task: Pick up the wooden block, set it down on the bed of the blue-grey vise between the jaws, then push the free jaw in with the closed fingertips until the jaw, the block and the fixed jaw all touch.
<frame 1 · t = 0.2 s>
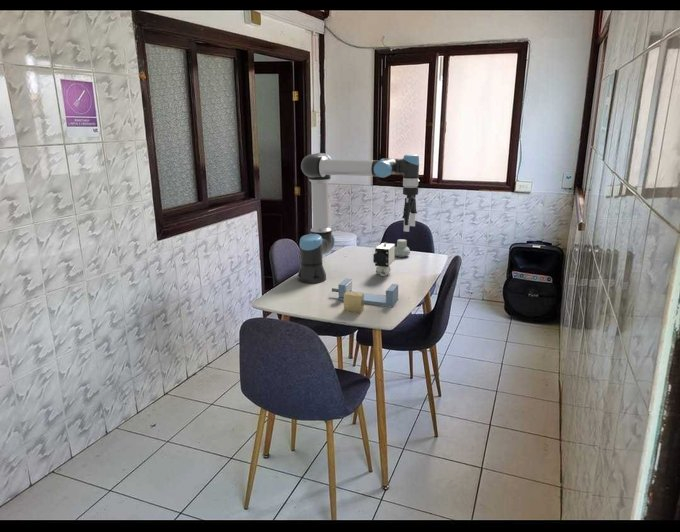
hand: (409, 228, 248), 28 cm above the table, tool pointing down, fingers open, 13 cm apart
vise: (368, 299, 229), on the table
free jaw: (340, 287, 232), point 5 cm above the table, slide at 0.0 cm
air freshener: (401, 256, 304), on the table
ball valve: (383, 274, 267), on the table
wooden block: (353, 310, 216), on the table
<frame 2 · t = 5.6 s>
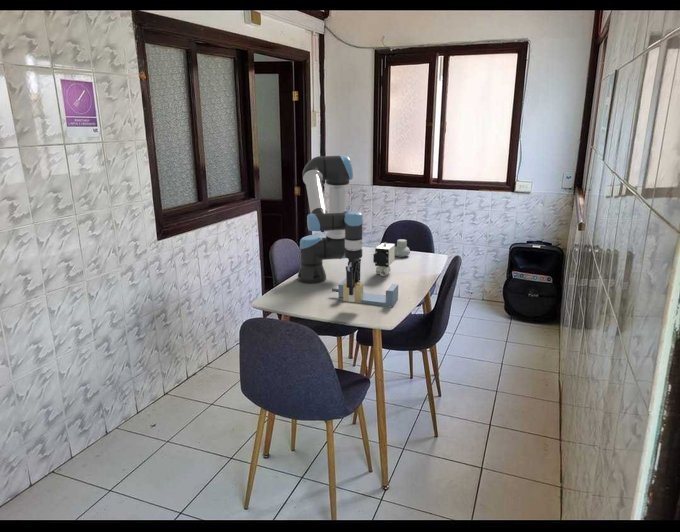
hand: (353, 299, 215), 5 cm above the table, tool pointing down, fingers closed on wooden block, 4 cm apart
wooden block: (353, 300, 215), point 5 cm above the table, touching gripper
everything else where it was.
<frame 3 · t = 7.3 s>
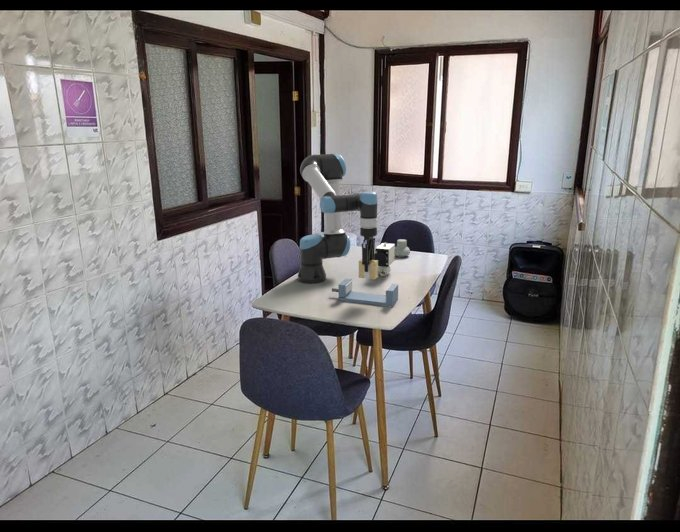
hand: (368, 276, 225), 12 cm above the table, tool pointing down, fingers closed on wooden block, 4 cm apart
wooden block: (368, 277, 226), point 11 cm above the table, touching gripper
everything else where it was.
when the fingers open (3 cm above the table, at t = 9.0 s): wooden block stays where it is, resting on vise.
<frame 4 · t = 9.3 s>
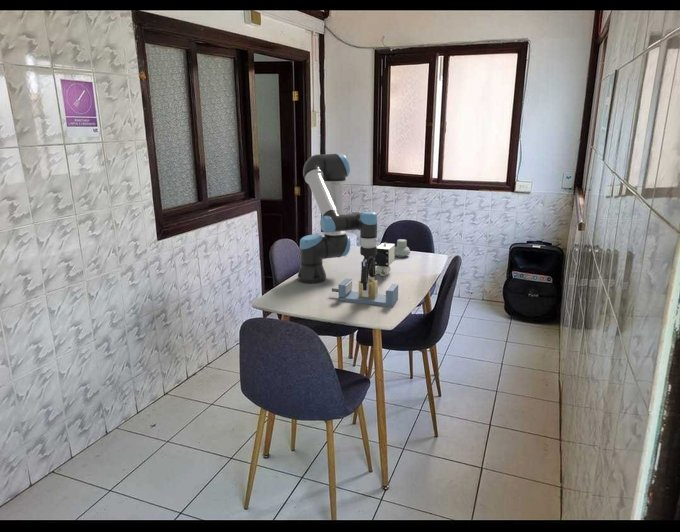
hand: (368, 293, 228), 3 cm above the table, tool pointing down, fingers open, 8 cm apart
wooden block: (368, 296, 228), point 1 cm above the table, touching vise
everything else where it was.
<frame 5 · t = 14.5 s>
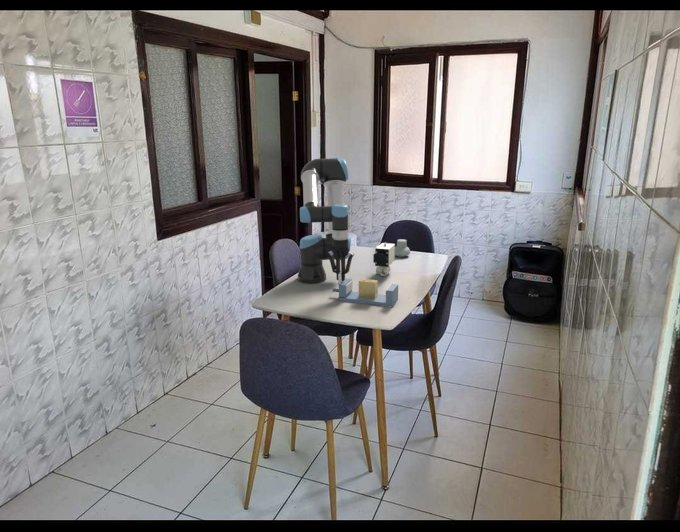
hand: (340, 286, 232), 5 cm above the table, tool pointing down, fingers closed
free jaw: (341, 287, 232), point 5 cm above the table, slide at 0.2 cm, touching gripper
everything else where it was.
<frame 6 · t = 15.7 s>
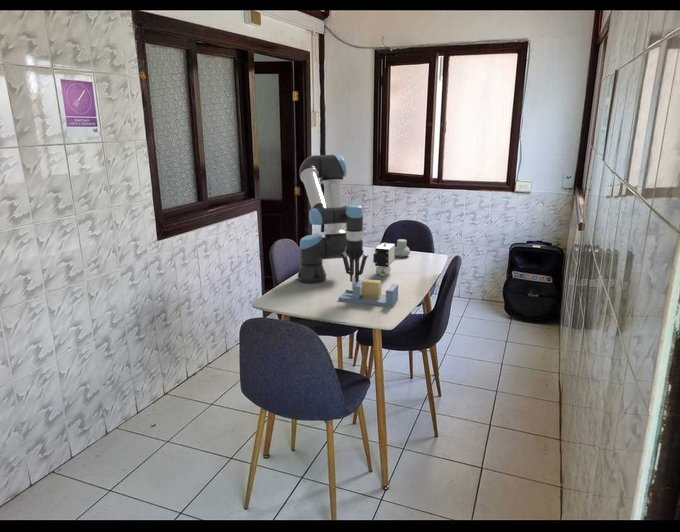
hand: (354, 288, 229), 5 cm above the table, tool pointing down, fingers closed
free jaw: (354, 288, 230), point 5 cm above the table, slide at 7.0 cm, touching gripper
wooden block: (371, 297, 228), point 2 cm above the table
everything else where it was.
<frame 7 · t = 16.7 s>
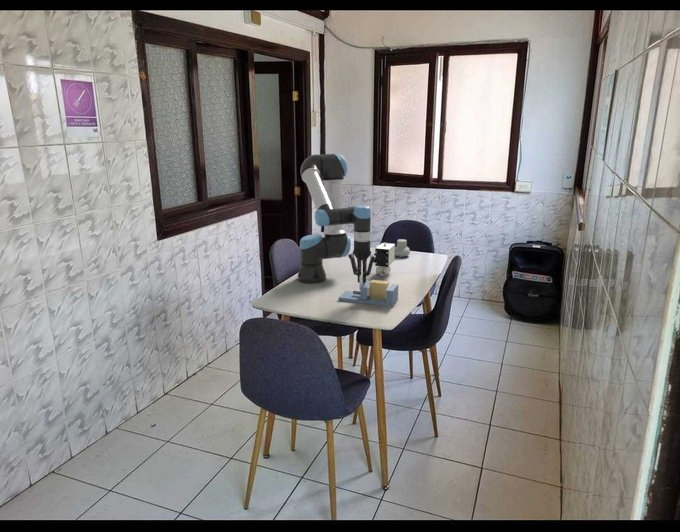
hand: (361, 289, 228), 5 cm above the table, tool pointing down, fingers closed
free jaw: (362, 289, 228), point 5 cm above the table, slide at 10.6 cm, touching wooden block, gripper
wooden block: (379, 298, 227), point 1 cm above the table, touching free jaw, vise
everything else where it was.
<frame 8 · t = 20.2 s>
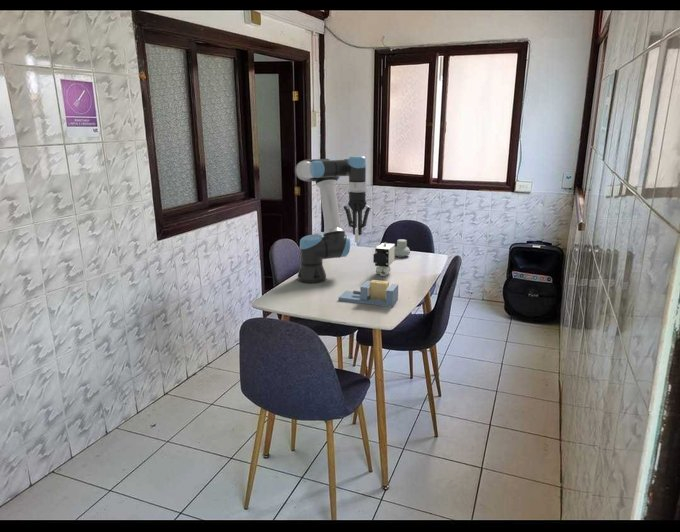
hand: (357, 241, 228), 26 cm above the table, tool pointing down, fingers closed
free jaw: (362, 289, 228), point 5 cm above the table, slide at 10.7 cm, touching wooden block
everything else where it was.
at the end: free jaw slide at 10.7 cm; wooden block 0.3 cm from the target spot on the vise, point 1.5 cm above the vise's base; wooden block tilted 0° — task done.
